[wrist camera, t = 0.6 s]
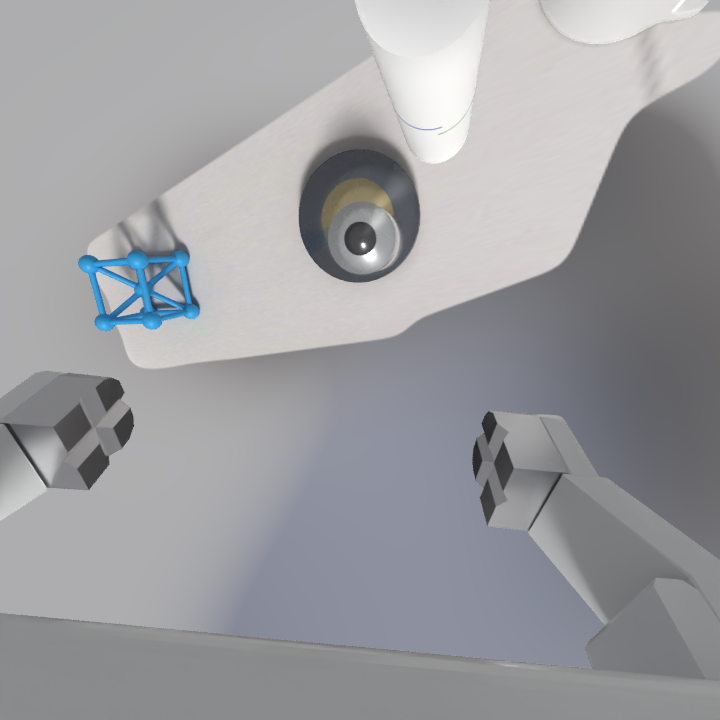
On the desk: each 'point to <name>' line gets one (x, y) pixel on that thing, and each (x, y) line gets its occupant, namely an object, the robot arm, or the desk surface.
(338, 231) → the silver metal canister
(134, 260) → the molecular structure
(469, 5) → the cylindrical container
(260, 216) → the desk surface
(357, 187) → the turntable platter
